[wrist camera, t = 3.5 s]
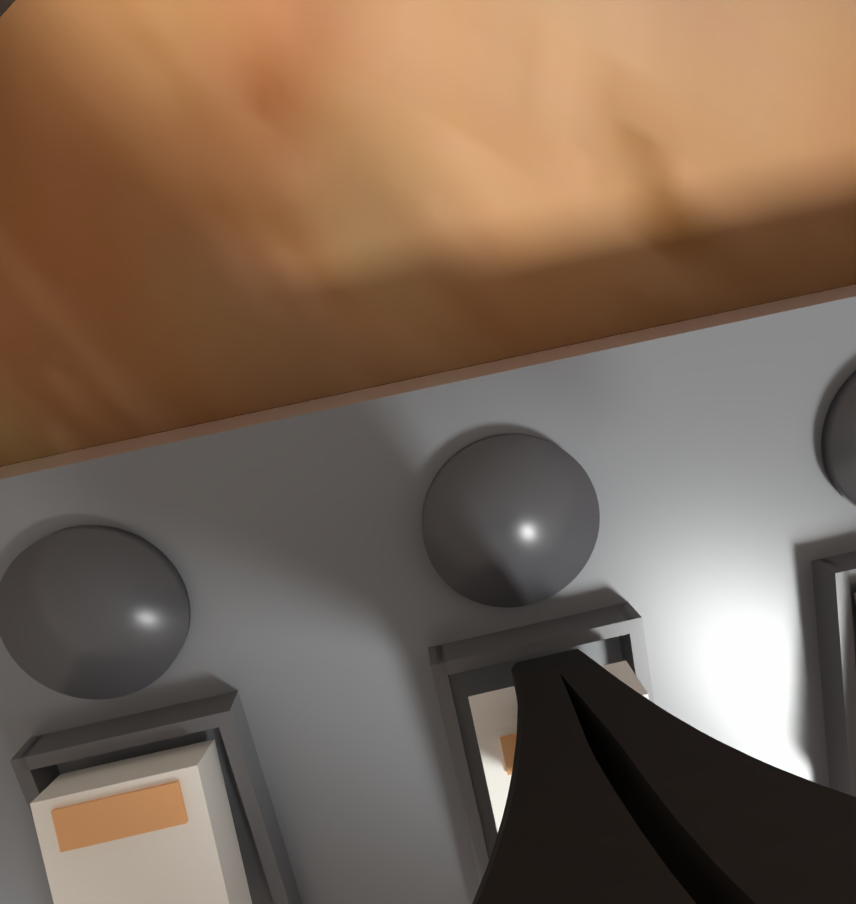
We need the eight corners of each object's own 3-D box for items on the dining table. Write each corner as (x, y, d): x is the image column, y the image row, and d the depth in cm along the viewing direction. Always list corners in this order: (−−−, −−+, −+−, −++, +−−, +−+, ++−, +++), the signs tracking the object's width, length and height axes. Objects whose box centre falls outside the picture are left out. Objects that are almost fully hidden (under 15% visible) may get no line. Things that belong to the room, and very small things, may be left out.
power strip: (1236, 651, 18) (1453, 731, 14) (65, 926, 17) (-22, 1088, 13) (1271, 195, 15) (1548, 151, 12) (-111, 490, 14) (-280, 542, 11)
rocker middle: (653, 884, 14) (676, 934, 12) (515, 916, 13) (527, 969, 12) (625, 660, 12) (650, 696, 11) (467, 696, 12) (477, 736, 11)
